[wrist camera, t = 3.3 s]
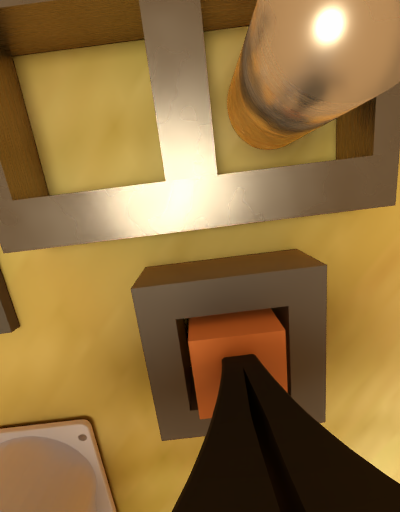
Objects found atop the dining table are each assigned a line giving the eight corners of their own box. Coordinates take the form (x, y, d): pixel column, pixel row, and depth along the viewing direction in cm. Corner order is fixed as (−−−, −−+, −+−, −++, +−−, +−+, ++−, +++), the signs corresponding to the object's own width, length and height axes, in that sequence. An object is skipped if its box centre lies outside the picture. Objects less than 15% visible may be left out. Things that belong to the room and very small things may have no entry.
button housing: (299, 376, 15) (325, 422, 12) (168, 392, 15) (161, 441, 12) (296, 249, 13) (326, 265, 10) (145, 267, 13) (130, 288, 10)
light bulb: (315, 144, 11) (439, 91, 6) (231, 154, 12) (268, 113, 6) (314, 45, 10) (464, -143, 5) (223, 56, 11) (258, -115, 5)
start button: (267, 362, 13) (288, 409, 10) (198, 370, 13) (199, 419, 10) (263, 298, 12) (285, 330, 9) (189, 307, 12) (188, 341, 9)
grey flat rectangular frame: (355, 203, 12) (395, 205, 10) (41, 241, 12) (3, 253, 10) (364, -51, 10) (421, -133, 7) (-28, 1, 10) (-101, -61, 7)
